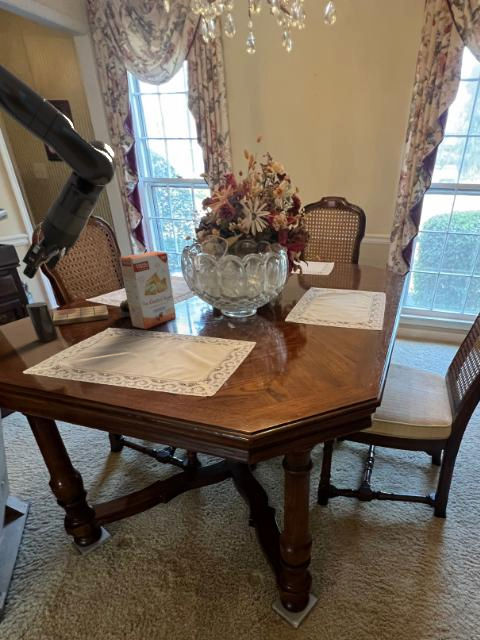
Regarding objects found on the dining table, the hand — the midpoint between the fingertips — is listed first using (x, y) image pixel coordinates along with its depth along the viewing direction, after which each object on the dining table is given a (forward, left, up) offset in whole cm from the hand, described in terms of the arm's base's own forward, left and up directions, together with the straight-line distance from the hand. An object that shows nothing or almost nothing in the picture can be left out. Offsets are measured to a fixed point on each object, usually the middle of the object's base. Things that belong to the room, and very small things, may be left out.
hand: (38, 271), depth 96 cm
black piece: (-4, +6, -20) cm, 21 cm away
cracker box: (+26, +8, -20) cm, 34 cm away
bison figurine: (+22, +16, -20) cm, 34 cm away
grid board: (+5, +25, -20) cm, 32 cm away
